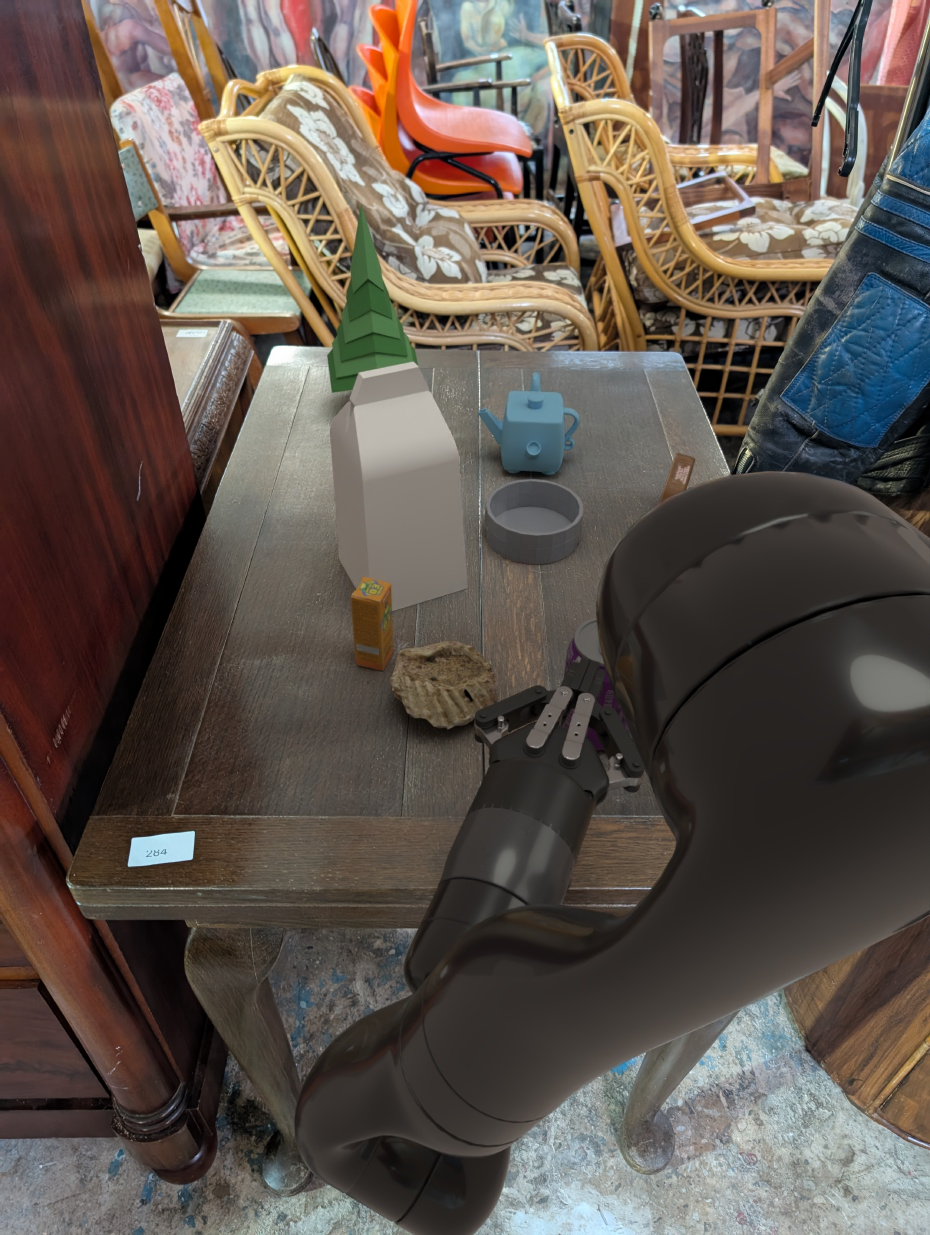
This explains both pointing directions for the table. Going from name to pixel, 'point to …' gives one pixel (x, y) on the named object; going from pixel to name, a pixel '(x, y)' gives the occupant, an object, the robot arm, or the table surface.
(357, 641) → the supplement box
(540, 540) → the pan
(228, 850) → the table surface
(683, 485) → the tin
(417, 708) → the seashell
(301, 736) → the table surface
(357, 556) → the milk
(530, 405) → the teapot
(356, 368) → the decorative tree
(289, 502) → the table surface
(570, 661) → the beverage can
